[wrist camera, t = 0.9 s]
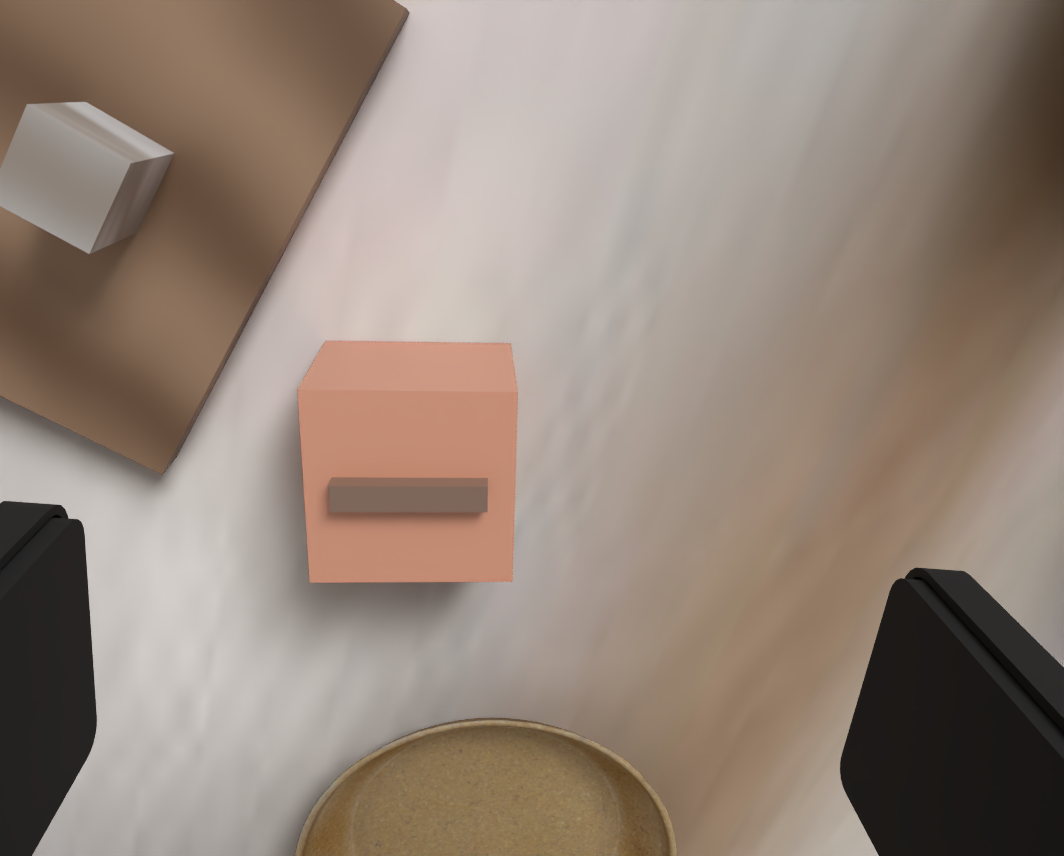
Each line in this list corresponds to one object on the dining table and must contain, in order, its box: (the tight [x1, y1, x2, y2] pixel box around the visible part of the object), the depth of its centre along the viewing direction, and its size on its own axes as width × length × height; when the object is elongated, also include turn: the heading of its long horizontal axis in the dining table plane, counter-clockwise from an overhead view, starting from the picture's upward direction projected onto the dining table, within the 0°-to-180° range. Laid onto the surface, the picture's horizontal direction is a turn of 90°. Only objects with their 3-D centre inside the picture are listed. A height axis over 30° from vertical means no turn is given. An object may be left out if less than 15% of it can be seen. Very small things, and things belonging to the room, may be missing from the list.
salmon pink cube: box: [297, 341, 518, 583], centre depth 28 cm, size 6×6×6 cm
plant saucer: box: [295, 718, 677, 856], centre depth 36 cm, size 15×15×3 cm
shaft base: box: [0, 0, 409, 474], centre depth 24 cm, size 16×10×5 cm, turn 148°
